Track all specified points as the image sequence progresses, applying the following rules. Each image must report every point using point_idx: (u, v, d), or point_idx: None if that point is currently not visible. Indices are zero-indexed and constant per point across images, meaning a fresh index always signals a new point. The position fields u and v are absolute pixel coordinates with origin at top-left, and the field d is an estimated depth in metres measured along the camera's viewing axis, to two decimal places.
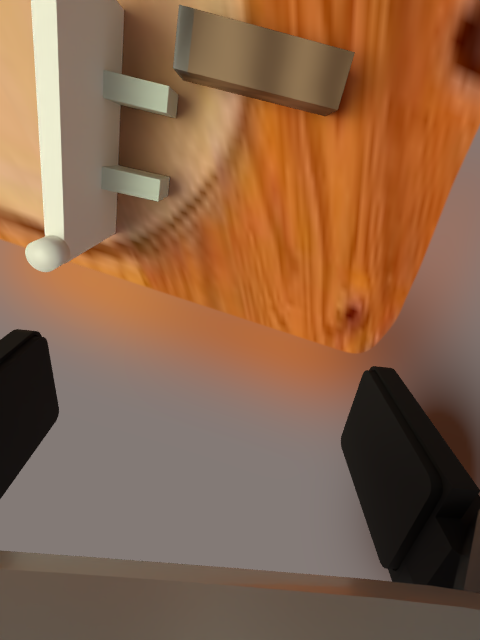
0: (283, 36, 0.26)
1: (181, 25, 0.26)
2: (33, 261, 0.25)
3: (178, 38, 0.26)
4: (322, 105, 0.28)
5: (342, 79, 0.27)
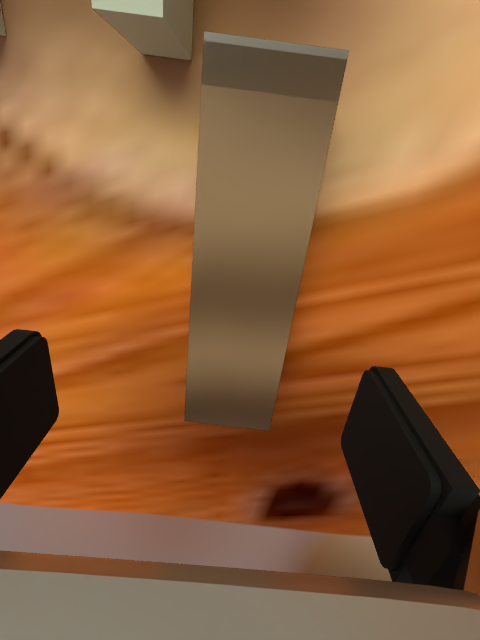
0: (287, 319, 0.13)
1: (303, 60, 0.09)
2: None
3: (274, 50, 0.09)
4: (186, 397, 0.15)
5: (230, 420, 0.15)
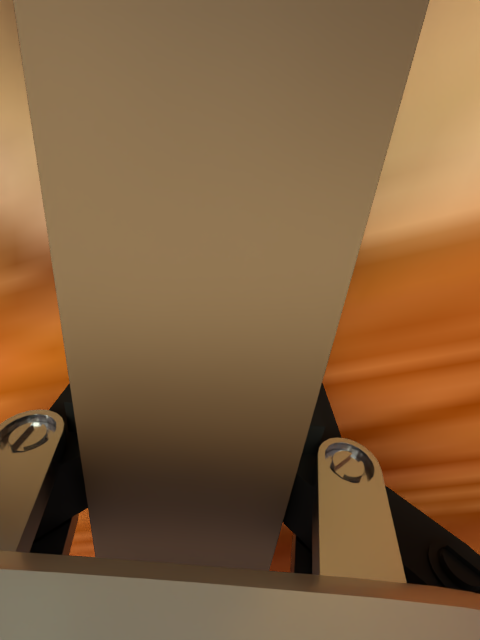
0: (282, 483, 0.06)
1: None
2: None
3: None
4: None
5: None
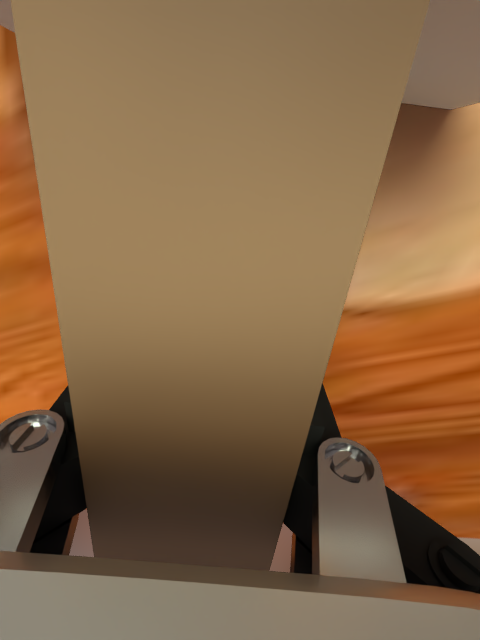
0: (282, 485, 0.06)
1: None
2: None
3: None
4: None
5: None
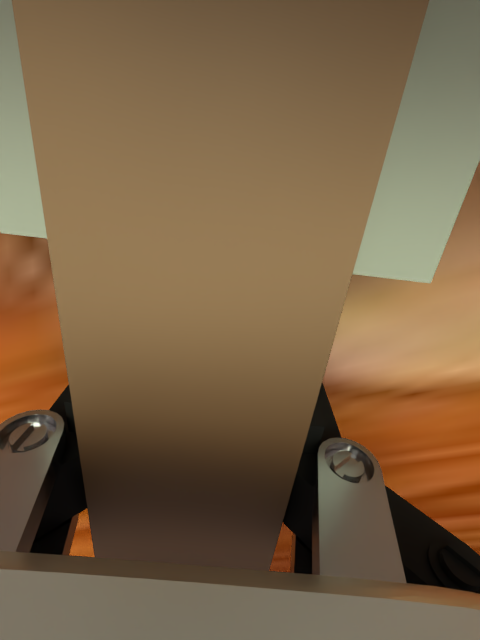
0: (282, 484, 0.06)
1: None
2: None
3: None
4: None
5: None
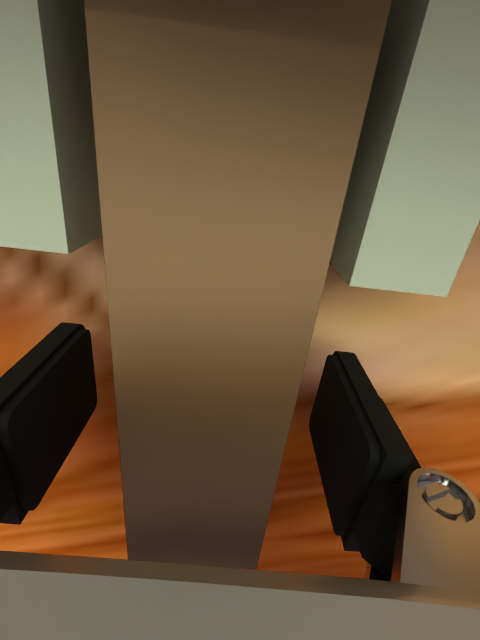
0: (280, 431, 0.08)
1: None
2: None
3: None
4: (127, 532, 0.10)
5: (196, 558, 0.10)
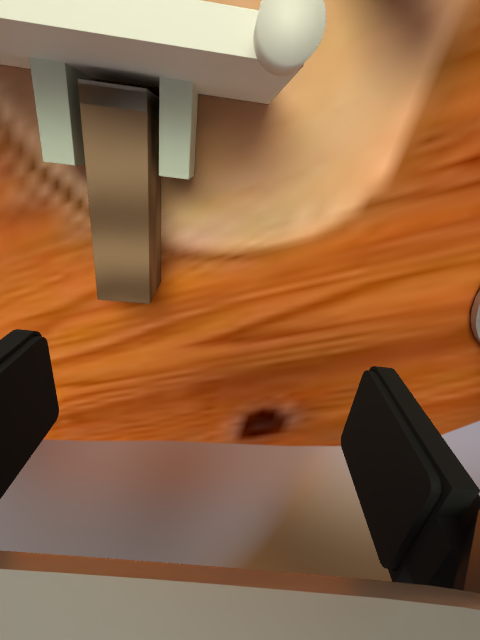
0: (145, 228, 0.23)
1: (126, 92, 0.20)
2: None
3: (112, 87, 0.19)
4: (96, 282, 0.25)
5: (125, 297, 0.26)
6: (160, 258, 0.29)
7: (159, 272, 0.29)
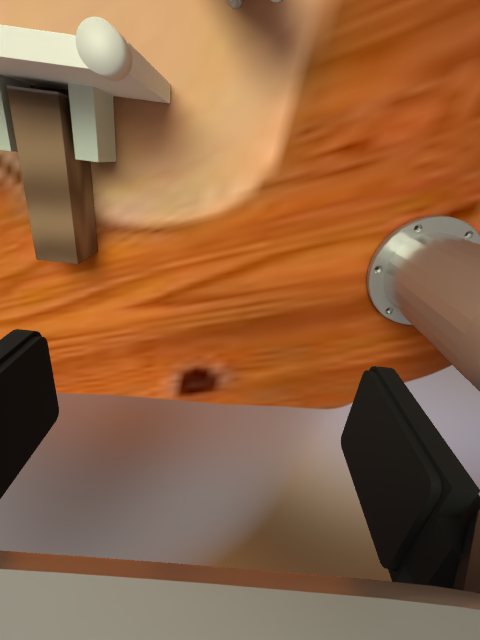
0: (68, 201, 0.30)
1: (42, 95, 0.26)
2: None
3: (32, 91, 0.26)
4: (34, 245, 0.32)
5: (57, 258, 0.32)
6: (95, 230, 0.36)
7: (94, 242, 0.36)
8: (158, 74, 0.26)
